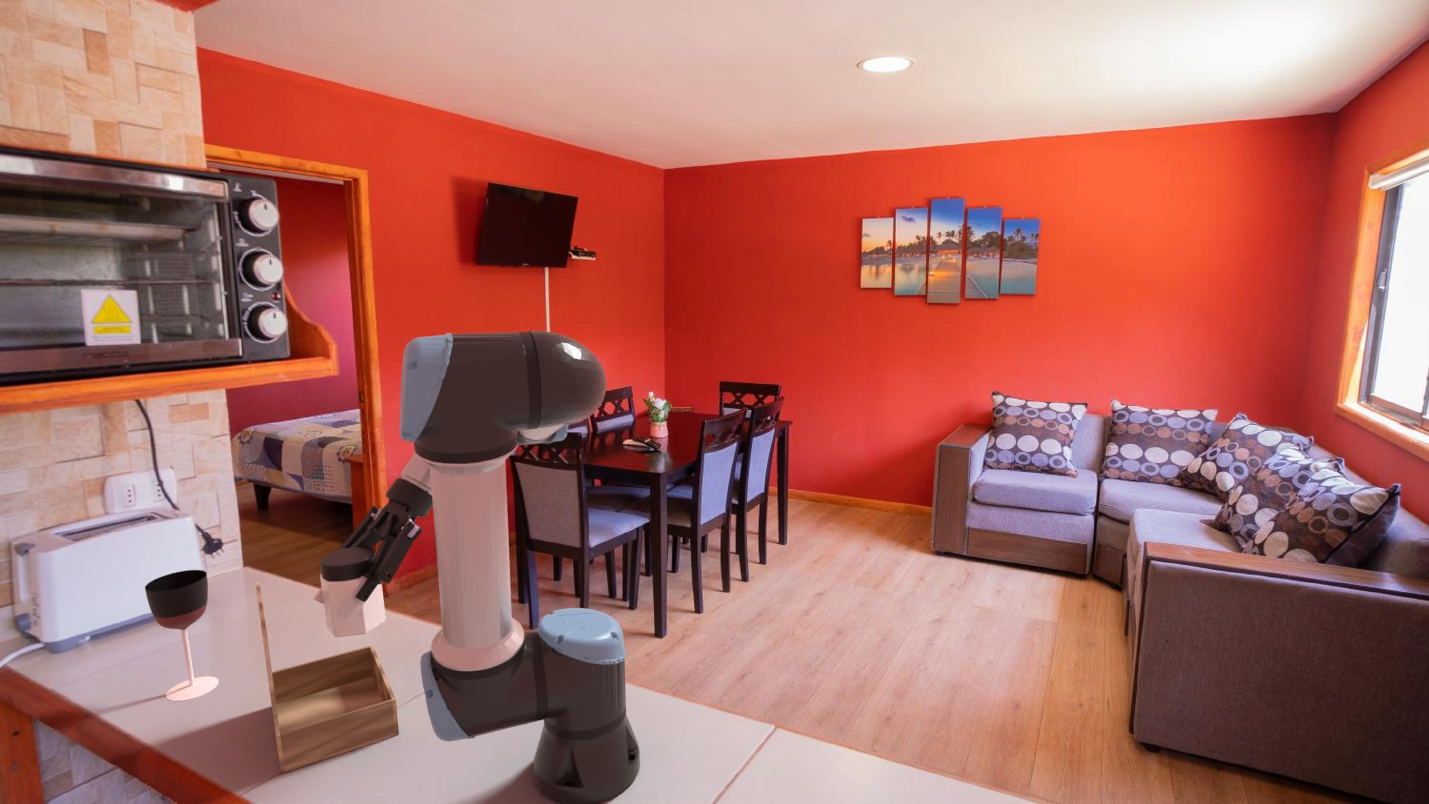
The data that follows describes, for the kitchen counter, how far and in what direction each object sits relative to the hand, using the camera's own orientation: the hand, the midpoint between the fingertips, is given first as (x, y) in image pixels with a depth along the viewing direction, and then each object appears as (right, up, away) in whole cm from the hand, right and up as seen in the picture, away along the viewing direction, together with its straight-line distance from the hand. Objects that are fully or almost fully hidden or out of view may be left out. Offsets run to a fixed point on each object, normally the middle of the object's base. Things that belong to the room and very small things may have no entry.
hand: (332, 609), depth 117 cm
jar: (+2, -4, +4) cm, 6 cm away
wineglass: (-30, -17, +11) cm, 36 cm away
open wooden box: (-1, -18, +2) cm, 18 cm away
